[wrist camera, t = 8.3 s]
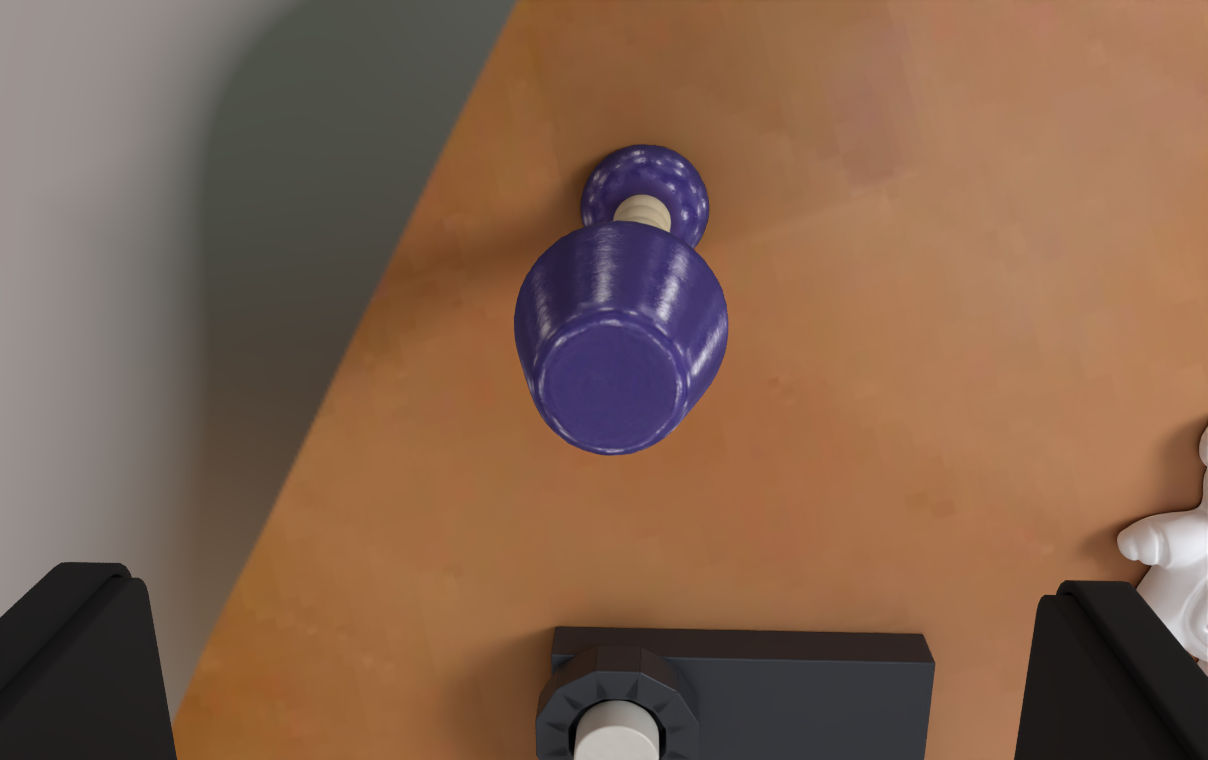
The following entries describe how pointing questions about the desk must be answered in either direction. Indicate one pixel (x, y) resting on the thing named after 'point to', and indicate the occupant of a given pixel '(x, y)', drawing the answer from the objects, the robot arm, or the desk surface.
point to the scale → (745, 692)
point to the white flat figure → (1176, 568)
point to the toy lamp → (624, 308)
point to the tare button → (617, 733)
